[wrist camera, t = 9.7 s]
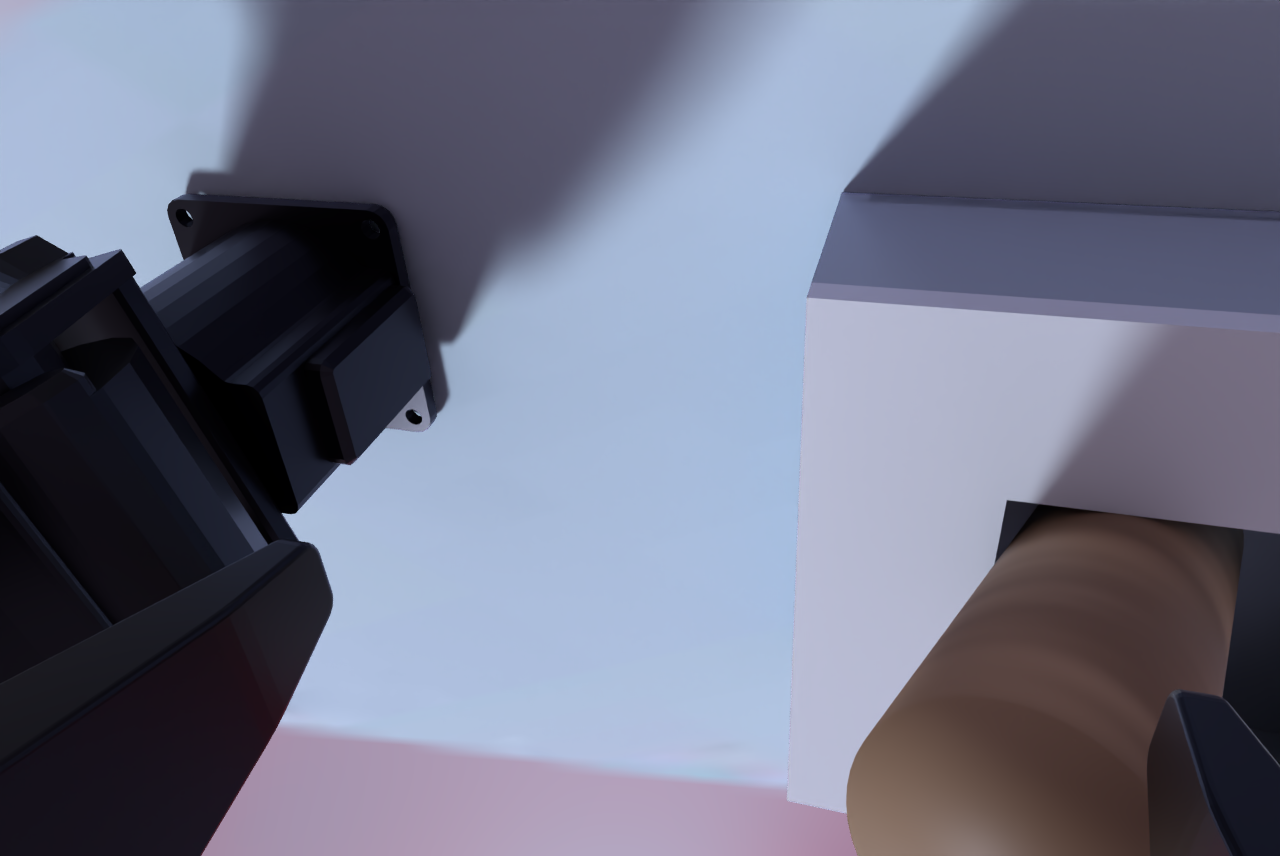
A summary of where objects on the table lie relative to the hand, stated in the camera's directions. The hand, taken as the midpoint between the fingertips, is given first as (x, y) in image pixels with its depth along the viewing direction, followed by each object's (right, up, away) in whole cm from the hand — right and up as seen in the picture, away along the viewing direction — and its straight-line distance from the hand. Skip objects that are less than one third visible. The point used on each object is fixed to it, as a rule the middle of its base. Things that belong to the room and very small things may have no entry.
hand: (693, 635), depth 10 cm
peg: (+10, 0, +11) cm, 15 cm away
